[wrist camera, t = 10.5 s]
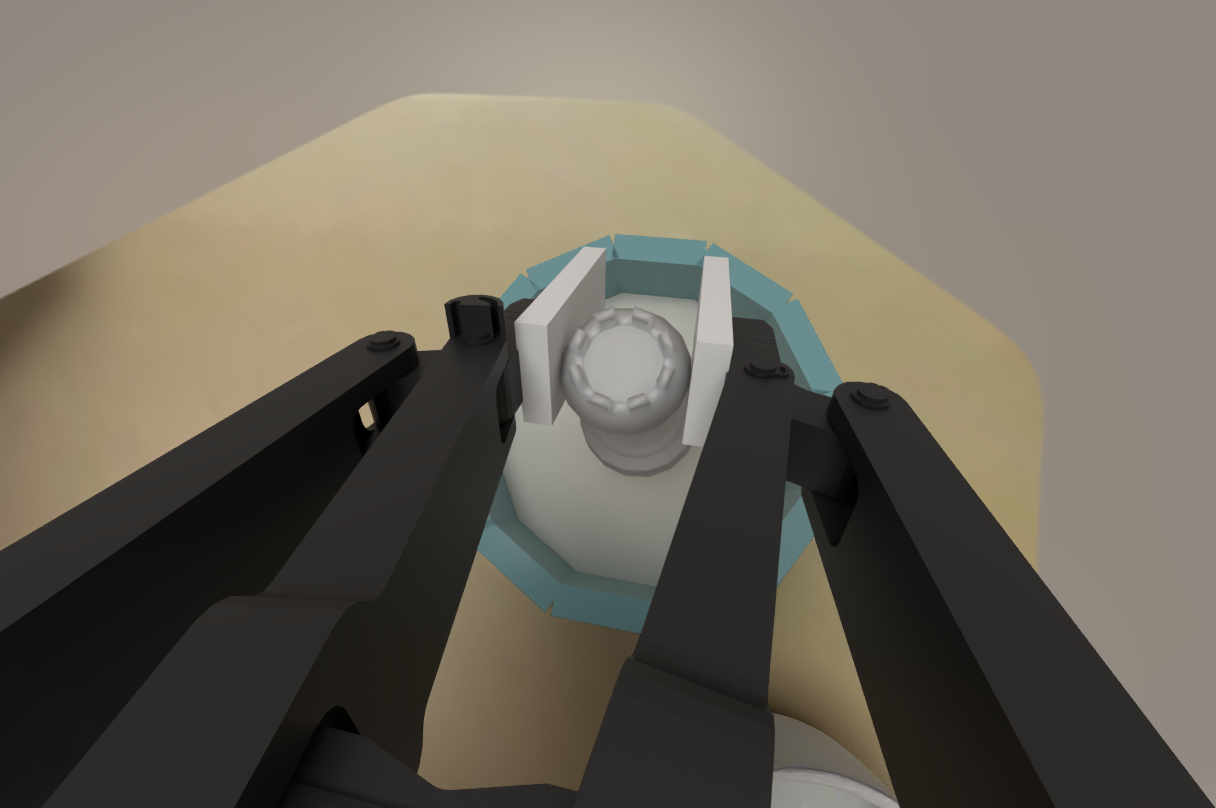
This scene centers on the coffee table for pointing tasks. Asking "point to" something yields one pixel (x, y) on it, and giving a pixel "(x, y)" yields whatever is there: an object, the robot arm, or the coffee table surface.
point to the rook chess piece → (629, 389)
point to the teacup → (821, 772)
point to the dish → (605, 499)
